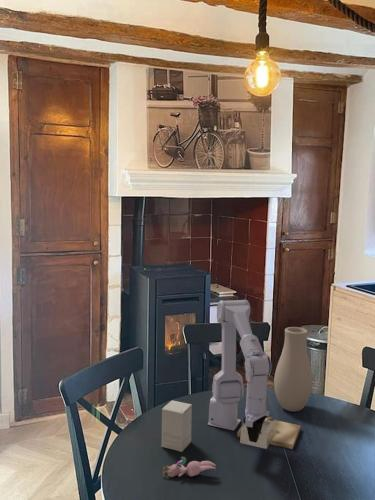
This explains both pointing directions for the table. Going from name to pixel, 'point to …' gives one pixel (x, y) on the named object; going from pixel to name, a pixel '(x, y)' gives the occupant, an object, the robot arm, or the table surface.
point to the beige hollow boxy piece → (260, 435)
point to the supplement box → (176, 425)
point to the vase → (293, 371)
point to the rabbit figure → (188, 468)
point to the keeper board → (282, 433)
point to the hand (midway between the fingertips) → (254, 439)
